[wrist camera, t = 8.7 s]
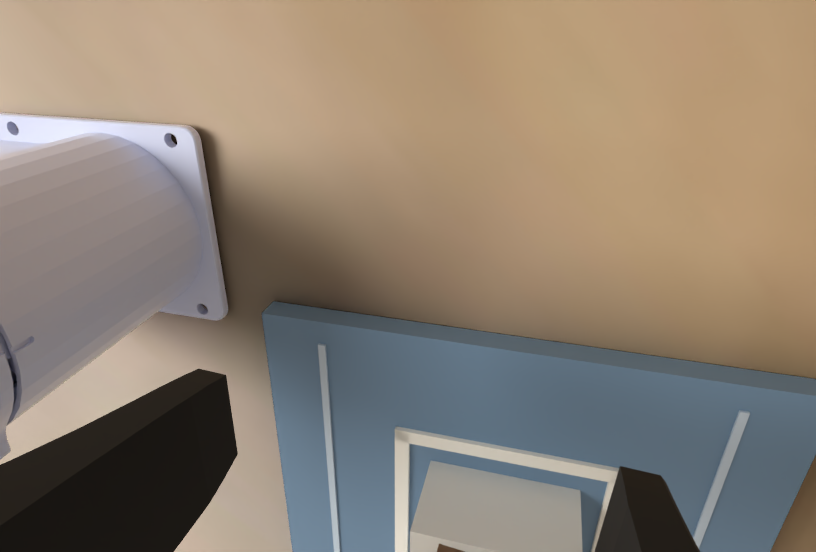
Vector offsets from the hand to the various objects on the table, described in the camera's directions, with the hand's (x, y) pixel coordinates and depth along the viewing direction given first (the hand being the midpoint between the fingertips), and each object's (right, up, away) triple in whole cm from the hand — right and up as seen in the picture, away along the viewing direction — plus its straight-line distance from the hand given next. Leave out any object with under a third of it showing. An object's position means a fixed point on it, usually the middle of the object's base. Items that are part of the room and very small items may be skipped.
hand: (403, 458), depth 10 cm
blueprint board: (+4, -7, +14) cm, 16 cm away
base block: (+4, -7, +13) cm, 16 cm away
